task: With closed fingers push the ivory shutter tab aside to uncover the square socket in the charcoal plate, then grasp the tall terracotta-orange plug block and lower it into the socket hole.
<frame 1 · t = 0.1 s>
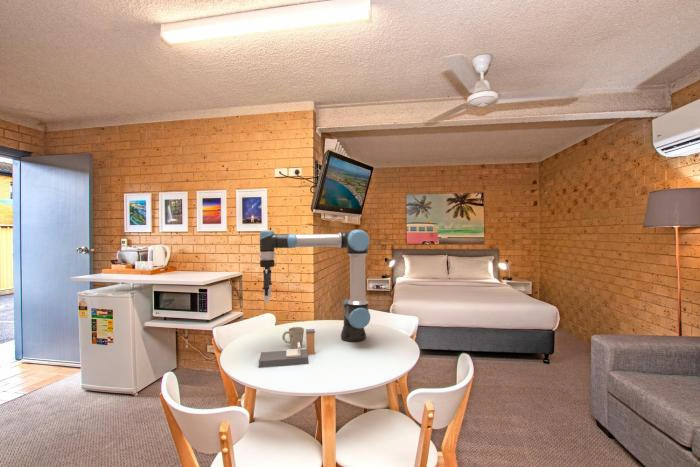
hand: (267, 299, 173), 28 cm above the table, fingers open, 13 cm apart
socket: (293, 360, 161), on the table
shutter: (293, 349, 161), point 5 cm above the table, slide at 0.0 cm
plug: (310, 353, 170), on the table
mug: (292, 347, 180), on the table
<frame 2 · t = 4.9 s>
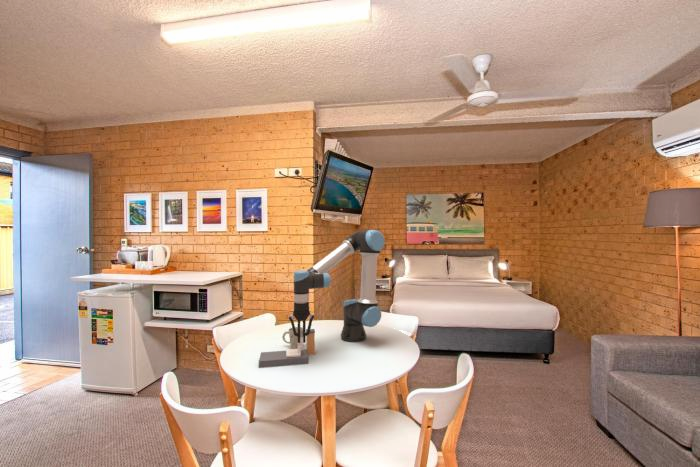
hand: (301, 349, 161), 5 cm above the table, fingers closed
shutter: (293, 349, 161), point 5 cm above the table, slide at 0.0 cm, touching gripper
everything else where it was.
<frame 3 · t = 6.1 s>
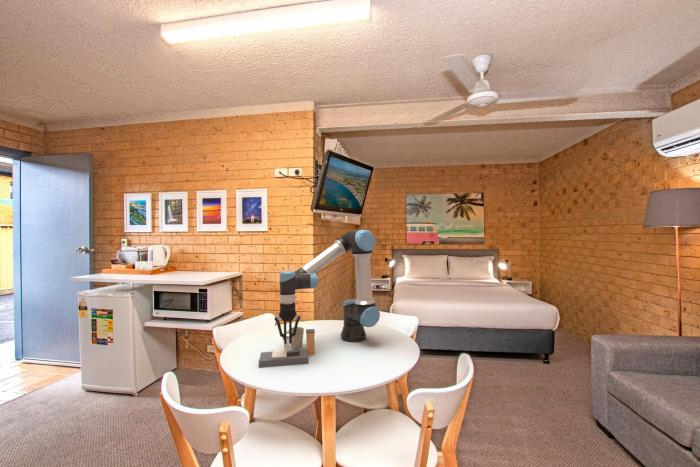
hand: (287, 350, 160), 5 cm above the table, fingers closed
shutter: (279, 350, 159), point 5 cm above the table, slide at 6.8 cm, touching gripper
everything else where it was.
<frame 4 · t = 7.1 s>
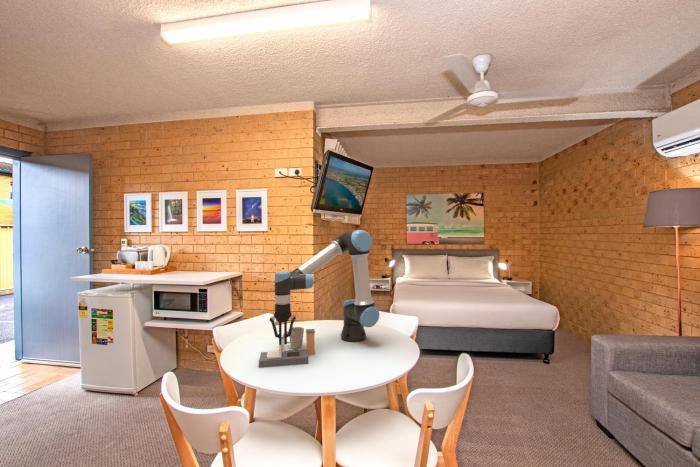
hand: (283, 351, 160), 5 cm above the table, fingers closed
shutter: (274, 350, 159), point 5 cm above the table, slide at 9.1 cm, touching gripper
everything else where it was.
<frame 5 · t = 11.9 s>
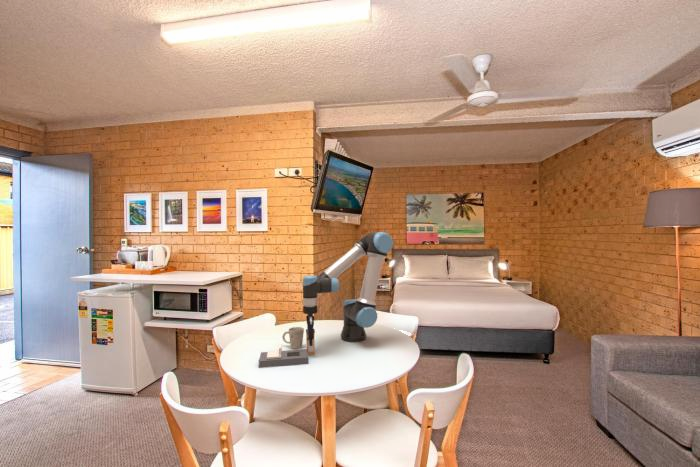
hand: (310, 349, 170), 2 cm above the table, fingers closed on plug, 4 cm apart
shutter: (274, 350, 159), point 5 cm above the table, slide at 9.1 cm
plug: (310, 353, 170), on the table, touching gripper
everything else where it was.
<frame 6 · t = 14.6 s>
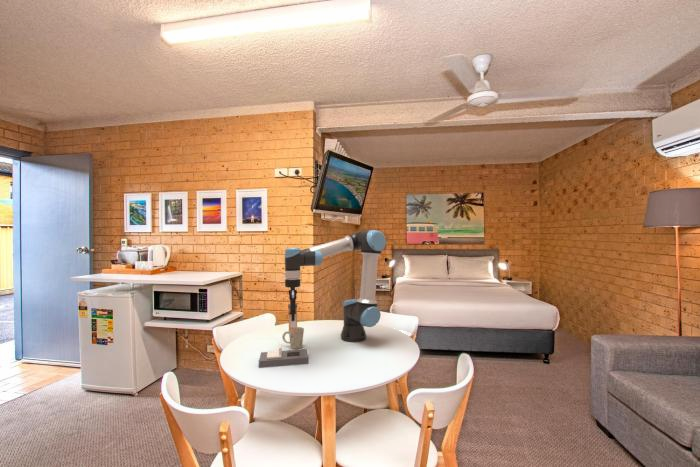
hand: (292, 325, 161), 17 cm above the table, fingers closed on plug, 4 cm apart
plug: (292, 329, 161), point 15 cm above the table, touching gripper
everything else where it was.
when the fingers open (4 cm above the table, at t = 17.7 s): plug drops 2 cm, resting on socket.
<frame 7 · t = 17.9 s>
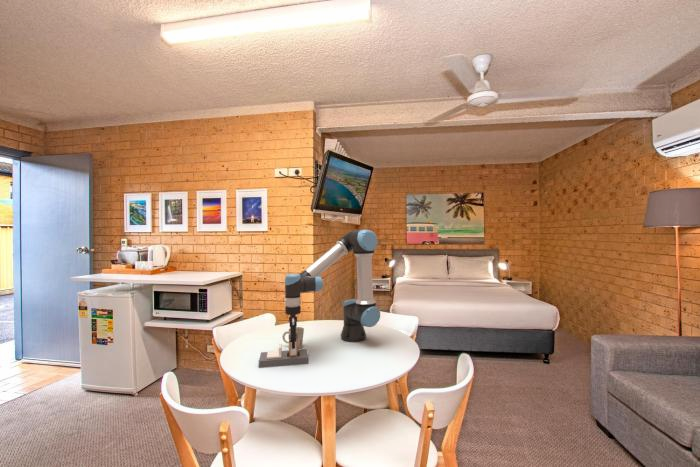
hand: (293, 351, 161), 4 cm above the table, fingers open, 7 cm apart
plug: (293, 359, 161), resting on socket
everything else where it was.
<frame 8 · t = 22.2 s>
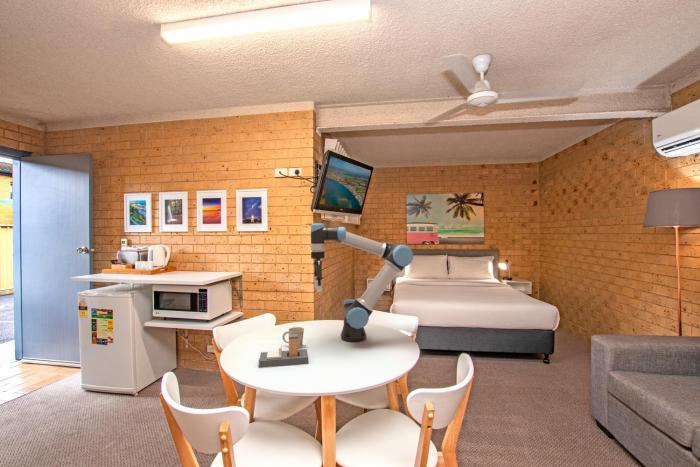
hand: (318, 289, 179), 32 cm above the table, fingers open, 13 cm apart
nothing on the table moved.
at the end: plug 0.0 cm off-centre on the socket, point 0.2 cm above the socket's base; plug tilted 0°; shutter slide at 9.1 cm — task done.
